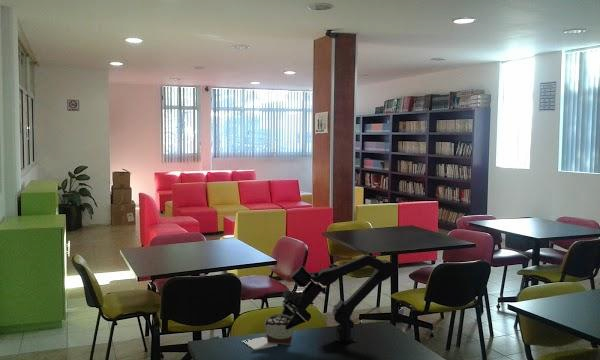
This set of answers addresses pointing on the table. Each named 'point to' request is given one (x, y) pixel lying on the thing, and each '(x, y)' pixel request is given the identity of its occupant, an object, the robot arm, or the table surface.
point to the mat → (259, 343)
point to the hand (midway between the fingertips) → (282, 325)
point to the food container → (278, 329)
